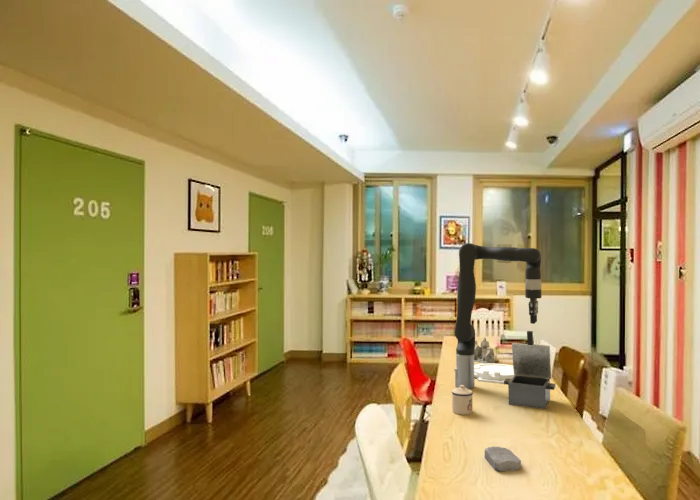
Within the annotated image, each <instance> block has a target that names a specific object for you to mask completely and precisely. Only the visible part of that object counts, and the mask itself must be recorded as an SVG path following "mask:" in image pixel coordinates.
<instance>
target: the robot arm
mask: <svg viewBox="0 0 700 500" xmlns="http://www.w3.org/2000/svg"><path fill="white" fill-rule="evenodd" d="M477 260H495V261H496V260H497V261H503V262H504V261H506V262H525V263H526V269H525V283H524V284H525V285H524V290H525V293H524V294H525V295H524V297H525V299H529V302H528V315H529V317H530V318H529V319H530V324H536V323H537V322H538V314H539V301H538V299H541V298H542V277H541V276H542V275H541V262H542V254H541V251H540V250H539V249H537V248H535V247H531V248H530V247H509V246H483V245H478V244H474V243H470V242H466V243H463V244H462V245H461V246H460V247H459V250H458V261H459V271H458V272H459V273H458V281H457V296H456V298H457V299H456V300H457V301H456V305H457V306H456V321H455V326H454V337H455V339H456V340H457V344H456V349H455V351H456V352H455V356H456V358H455V362H456V363H455V368H454V374H455V375H454V383H455V384H454V387H455V388H458V387H460V385H464V386H465V388H467V389H469V390H471V389H474V388H475V385H476V384H475V378H474V365H475V362H474V349H475V341H476V329H475V328H474V326H473V325H472V313H473V310H474V305H475V302H476V293H477V292H476V290H477V285H476V277H475V263H476V262H475V261H477Z"/></svg>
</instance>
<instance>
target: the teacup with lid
mask: <svg viewBox="0 0 700 500" xmlns="http://www.w3.org/2000/svg"><path fill="white" fill-rule="evenodd" d="M451 394H452V395H451V397H452V403H451V404H452V406H451V408H452V412H453V413H454V414H457V415H463V416H466V415H471V414H472V413H473V411H474V410H473V394H474V392H473V391H472V390H471V389H467V388H465V386H464V385H460V387H456V388H454V389H452V390H451Z"/></svg>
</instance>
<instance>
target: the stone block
mask: <svg viewBox="0 0 700 500" xmlns="http://www.w3.org/2000/svg"><path fill="white" fill-rule="evenodd" d="M484 460H486V461H487V462H488V463H489V465H490V466H491V467H492V469H493V470H495V471H496V472H507V471H509V472H510V471H511V472H516V471H518V470H519V469H520V468H521V465H522V460H521V459H520V457H518V456H517V455H516V454H515V453H514V452H513V451H512V450H511V449H509V448H507V447H501V446H490V447H489V446H488V447H486V448H485V449H484Z"/></svg>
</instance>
